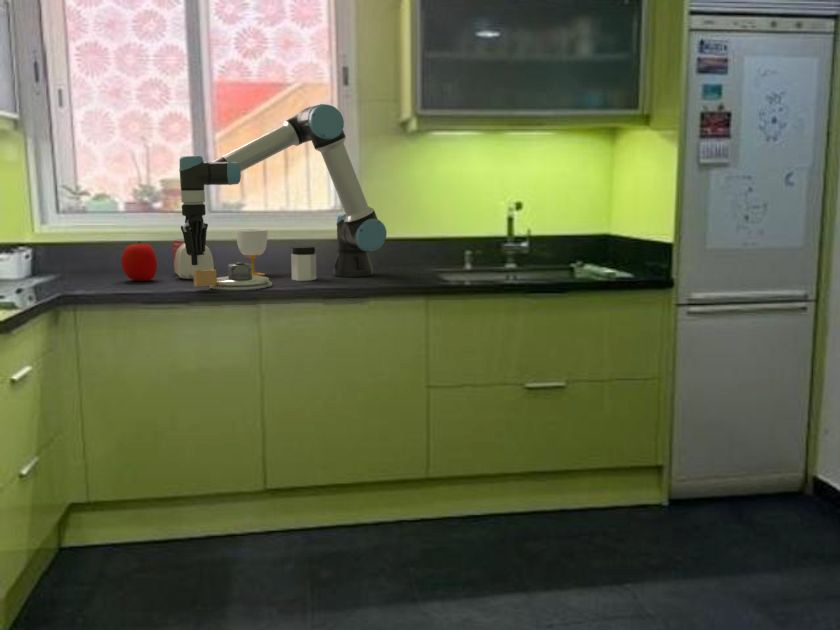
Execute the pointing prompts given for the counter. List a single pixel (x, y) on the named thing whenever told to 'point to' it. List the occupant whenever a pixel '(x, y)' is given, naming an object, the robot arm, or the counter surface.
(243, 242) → the cup
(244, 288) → the base
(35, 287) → the counter surface
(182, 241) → the soda can
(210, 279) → the turntable
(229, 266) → the grey stone pot
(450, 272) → the counter surface
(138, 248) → the tomato
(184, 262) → the vase
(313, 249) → the jar
